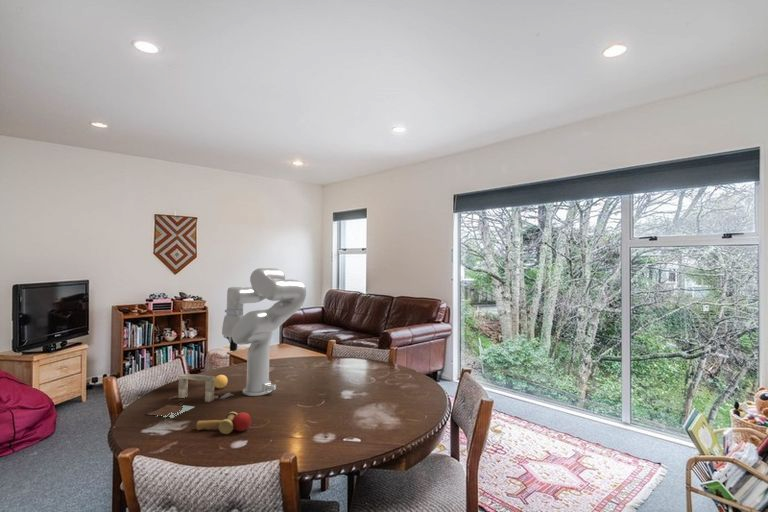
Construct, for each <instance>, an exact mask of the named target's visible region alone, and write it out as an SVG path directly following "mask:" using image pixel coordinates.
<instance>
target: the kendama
mask: <svg viewBox="0 0 768 512" xmlns="http://www.w3.org/2000/svg"><path fill="white" fill-rule="evenodd" d="M251 423H252V418H251V416H250V414H249V413H247V412H245V411H244V412H243V411H242V412H238V413H237V412H236V411H230V412H229V413H228V414H226V416H225V419H213V420H210V419H209V420H197V423H196V424H195V425H196V427H195V428H196V431H200V430H201V431H202V430H205V429H206V430H207V429H213V428H217V427H218V430H219V432H220V433H221V434H225V435H229V434H230V433H232V432H233V430H236V431H238V432H244V431H246V430H248V429H249V428H250V426H251Z"/></svg>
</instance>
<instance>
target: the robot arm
mask: <svg viewBox="0 0 768 512" xmlns="http://www.w3.org/2000/svg"><path fill="white" fill-rule="evenodd" d="M249 281H250V285H251V287H250V286H249V287H241V286H231V287H228V288H227V293H226V309H224V313H225V315H224V318H223V322H222V326H221V327H222V328H221V329H222V330H221V334H222V336H223V338H225V339H227V340H228V343H229V351H230V352H236V351H237V349H238V345H240V346H241V345H249V344H250V346H249V347H248V350H247V354H246V355H247V358H246V360H247V361H246V387H244V388H243V389H242V394H243V395H245V396H249V397H252V396H253V397H258V396H264V395H267V394H270V393H271V392H272V391H275V390H277V384H273V383H272V381H271V380H270V355H271V354H270V353H271V352H270V351H271V350H270V349H271V341H272V337H273V332H274V331H276V330H277V329H278V328H280V327H281V325H283V324H284V323H285V322H287V320H288V319H290V317H292V316H293V315H295V313H297V312H298V311H299V310H300V309H301V308H302V307H303V305H304V303H305V300H306V296H307V287H306V285H305V284H304V282H302V281H300V280H298V279H286V276H285V273H284V271H282V270H281V269H279V268H271V267H270V268H269V267H268V268H262V267H261V268H256V269H254V270H253V271H252V272H251V273H250V277H249ZM264 300H269V301H270V302H271V301H272V302H274V301H275V302H274V303H273V305H272V306H270V307H269V308H267V309H260V310H259V309H257V310H251V311H248V312H247V313H246V314H244V304H256V303H260V302H262V301H264Z"/></svg>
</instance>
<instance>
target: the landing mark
mask: <svg viewBox="0 0 768 512" xmlns="http://www.w3.org/2000/svg"><path fill="white" fill-rule="evenodd" d="M182 405H183V404H182ZM182 407H183V408H182V410H181V411H180V410H179V411H180V412H179V413H180V415H181V413H182V414H183V412H184V413H186V412H187V411H190V410H191V409H194V408H195V406H193V405H186V404H185V405H183V406H182ZM185 411H186V412H185ZM179 413H178V412H177V415H178V416H179ZM169 414H170V413H169ZM169 414H168V415H169ZM173 414H174V413H172V412H171V415H170V416H169V417H170V418H169V419H173V418H176V417H178V416H177V415H175V414H176V413H175V414H174V415H175V416H176V417H175V416H174V415H173ZM168 415H167V416H168ZM161 416H162V415H161ZM167 416H166V415H165V416H163V417H162V418H166V417H167ZM156 417H158V415H157V416H156Z"/></svg>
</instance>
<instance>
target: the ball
mask: <svg viewBox="0 0 768 512" xmlns="http://www.w3.org/2000/svg"><path fill="white" fill-rule="evenodd" d="M228 381H229V379H228V377H227V376H226V375H224V374H219V375H217V376H215V382H214V388H216V389H223V388H225V387H226V386H227V384H228Z"/></svg>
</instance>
